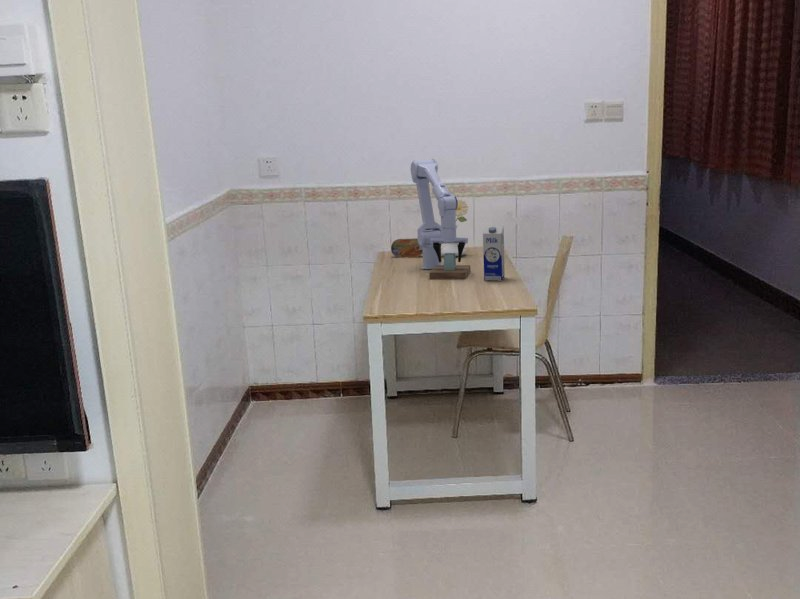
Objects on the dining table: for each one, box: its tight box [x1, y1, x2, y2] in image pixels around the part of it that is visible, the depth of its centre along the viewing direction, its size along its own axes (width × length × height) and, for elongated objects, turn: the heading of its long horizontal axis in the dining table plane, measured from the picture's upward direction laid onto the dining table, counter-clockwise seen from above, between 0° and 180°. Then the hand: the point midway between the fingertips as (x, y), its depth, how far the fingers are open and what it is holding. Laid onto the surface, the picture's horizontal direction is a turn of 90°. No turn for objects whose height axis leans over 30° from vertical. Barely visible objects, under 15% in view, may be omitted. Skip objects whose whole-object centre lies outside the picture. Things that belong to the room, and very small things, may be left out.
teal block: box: [443, 253, 457, 270], centre depth 310 cm, size 4×4×6 cm
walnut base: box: [428, 264, 471, 280], centre depth 311 cm, size 14×14×2 cm
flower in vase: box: [441, 198, 469, 257], centre depth 347 cm, size 13×11×25 cm
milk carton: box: [482, 225, 506, 281], centre depth 298 cm, size 7×7×20 cm
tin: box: [390, 237, 423, 259], centre depth 353 cm, size 15×3×8 cm, turn 77°
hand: (449, 261), depth 310 cm, fingers open, 7 cm apart
